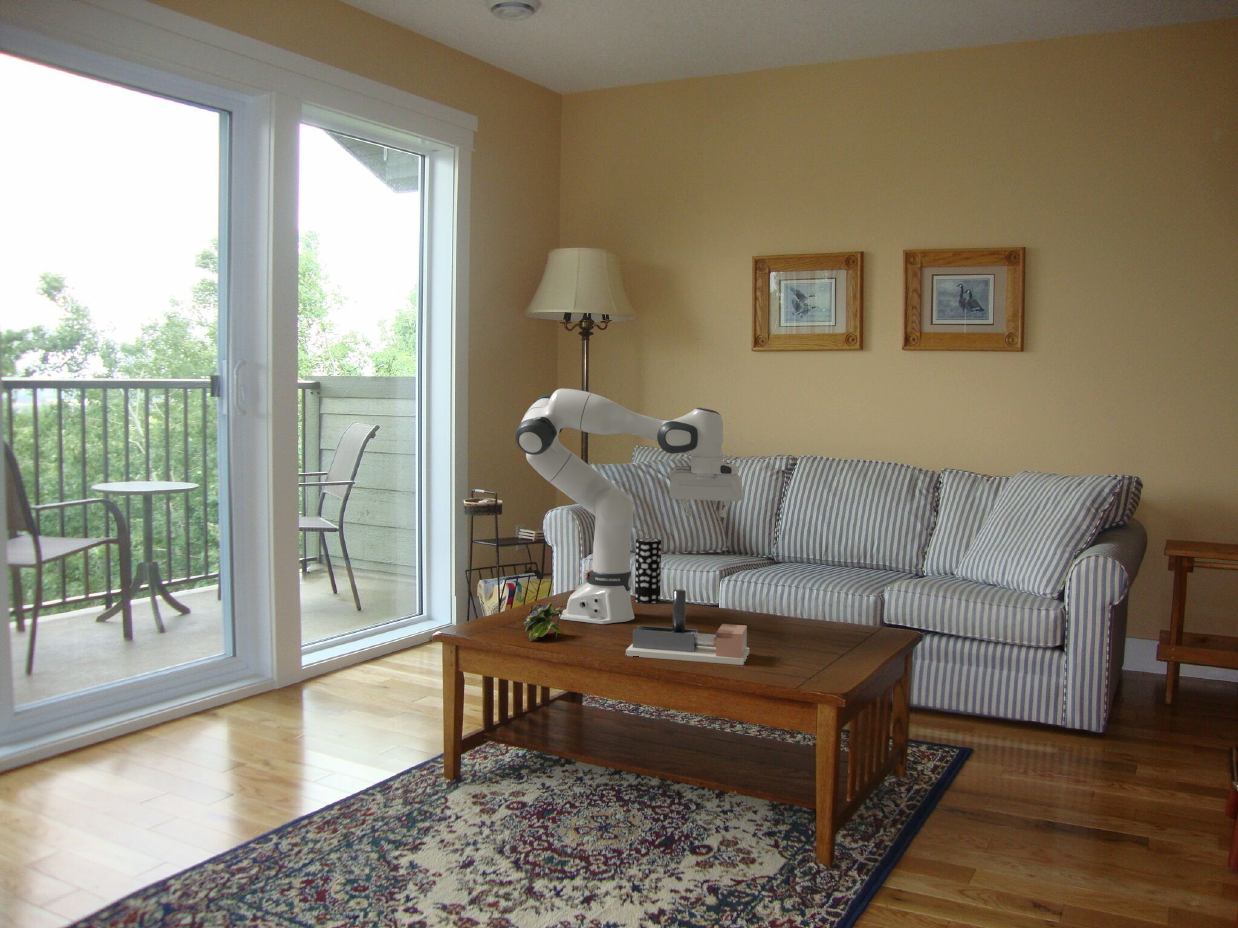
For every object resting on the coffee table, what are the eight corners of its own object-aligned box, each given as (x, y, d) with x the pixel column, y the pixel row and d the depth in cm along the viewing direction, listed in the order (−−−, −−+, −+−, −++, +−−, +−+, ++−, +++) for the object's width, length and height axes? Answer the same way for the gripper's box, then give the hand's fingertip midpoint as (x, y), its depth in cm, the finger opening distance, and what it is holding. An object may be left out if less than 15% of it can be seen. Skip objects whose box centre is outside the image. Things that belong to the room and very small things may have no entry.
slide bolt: (669, 645, 259) (670, 591, 258) (672, 642, 262) (673, 588, 261) (731, 649, 255) (733, 595, 254) (733, 646, 258) (734, 592, 257)
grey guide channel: (632, 647, 260) (632, 629, 260) (637, 642, 265) (637, 625, 265) (693, 652, 256) (694, 634, 256) (697, 646, 261) (697, 629, 261)
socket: (715, 655, 252) (716, 632, 252) (721, 646, 262) (722, 623, 262) (741, 657, 251) (741, 634, 250) (746, 648, 261) (746, 625, 260)
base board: (625, 655, 257) (625, 650, 257) (636, 644, 269) (636, 639, 269) (743, 665, 250) (743, 659, 250) (749, 653, 261) (749, 647, 261)
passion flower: (535, 654, 279) (543, 614, 285) (568, 651, 274) (575, 611, 280) (512, 637, 271) (521, 597, 278) (546, 635, 266) (554, 593, 272)
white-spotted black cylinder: (642, 604, 322) (643, 542, 320) (630, 599, 329) (631, 538, 328) (665, 602, 326) (666, 540, 324) (652, 597, 333) (653, 537, 332)
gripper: (667, 466, 279) (666, 516, 280) (741, 468, 274) (740, 519, 275) (671, 465, 285) (671, 513, 286) (744, 467, 280) (743, 516, 281)
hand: (705, 516), depth 280 cm, fingers open, 8 cm apart
